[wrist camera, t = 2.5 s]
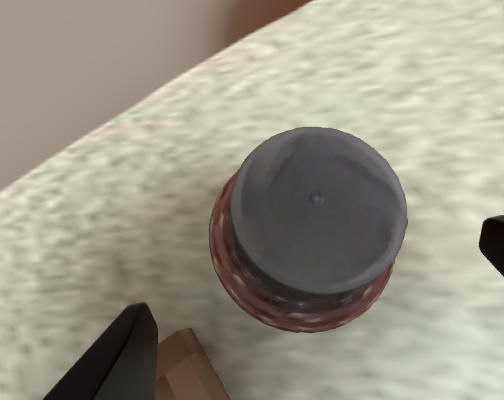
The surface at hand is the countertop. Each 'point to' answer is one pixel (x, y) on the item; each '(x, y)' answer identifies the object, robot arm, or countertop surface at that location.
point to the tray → (186, 370)
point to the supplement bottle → (308, 229)
